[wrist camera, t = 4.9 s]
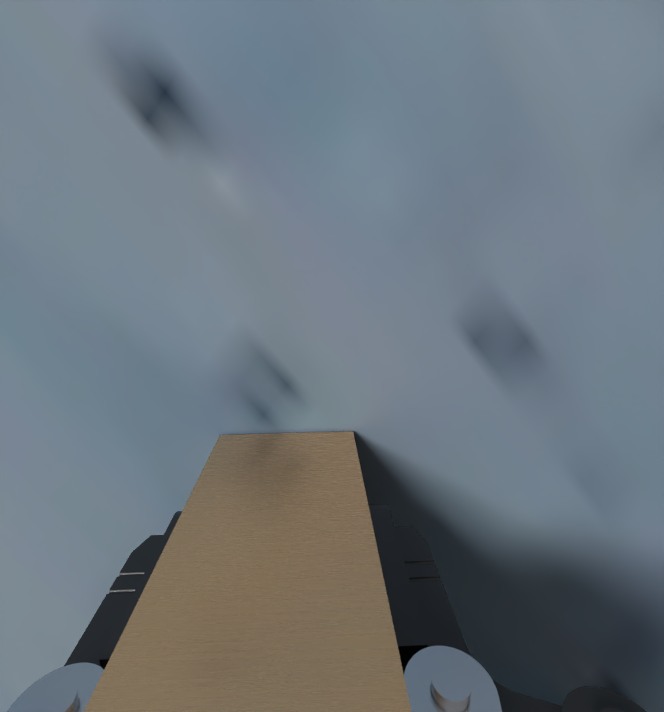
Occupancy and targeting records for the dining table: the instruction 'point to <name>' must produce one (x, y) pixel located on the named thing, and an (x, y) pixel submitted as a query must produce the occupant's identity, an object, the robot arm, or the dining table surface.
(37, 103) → the dining table surface
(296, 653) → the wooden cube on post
